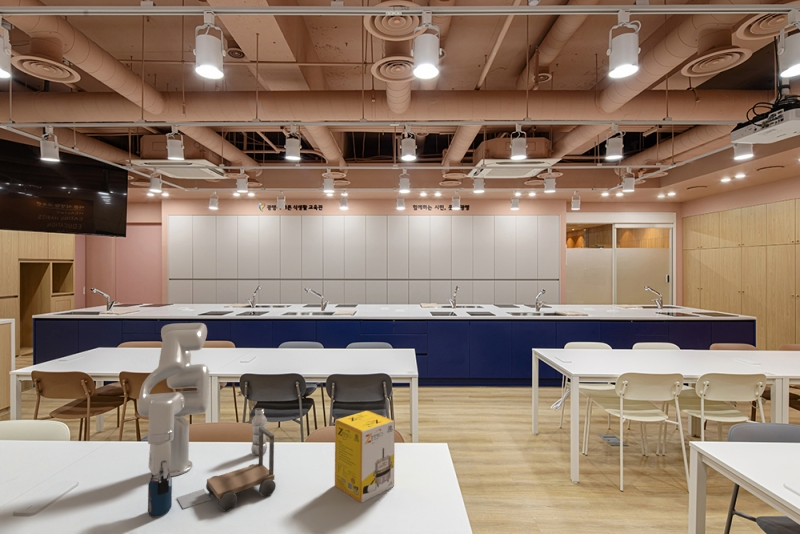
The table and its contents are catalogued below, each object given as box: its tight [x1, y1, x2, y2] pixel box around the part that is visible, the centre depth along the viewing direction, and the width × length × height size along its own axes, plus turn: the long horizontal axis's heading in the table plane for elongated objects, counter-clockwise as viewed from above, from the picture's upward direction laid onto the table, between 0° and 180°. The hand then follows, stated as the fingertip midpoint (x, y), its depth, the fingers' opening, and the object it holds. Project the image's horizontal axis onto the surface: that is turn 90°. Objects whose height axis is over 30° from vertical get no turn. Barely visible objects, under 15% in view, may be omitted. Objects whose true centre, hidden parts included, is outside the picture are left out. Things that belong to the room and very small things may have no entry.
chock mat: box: [176, 488, 212, 510], centre depth 144 cm, size 9×9×1 cm
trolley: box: [205, 427, 277, 512], centre depth 148 cm, size 20×16×21 cm
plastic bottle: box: [250, 407, 268, 456], centre depth 181 cm, size 6×7×20 cm
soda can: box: [147, 473, 173, 518], centre depth 136 cm, size 7×7×12 cm
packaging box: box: [334, 410, 396, 503], centre depth 154 cm, size 16×16×25 cm
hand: (159, 487), depth 135 cm, fingers open, 9 cm apart
